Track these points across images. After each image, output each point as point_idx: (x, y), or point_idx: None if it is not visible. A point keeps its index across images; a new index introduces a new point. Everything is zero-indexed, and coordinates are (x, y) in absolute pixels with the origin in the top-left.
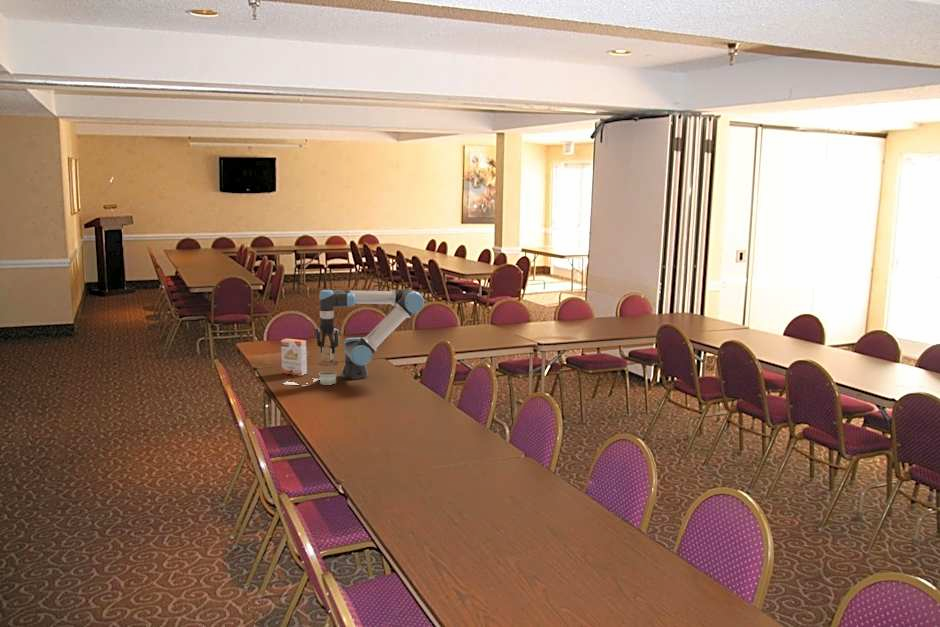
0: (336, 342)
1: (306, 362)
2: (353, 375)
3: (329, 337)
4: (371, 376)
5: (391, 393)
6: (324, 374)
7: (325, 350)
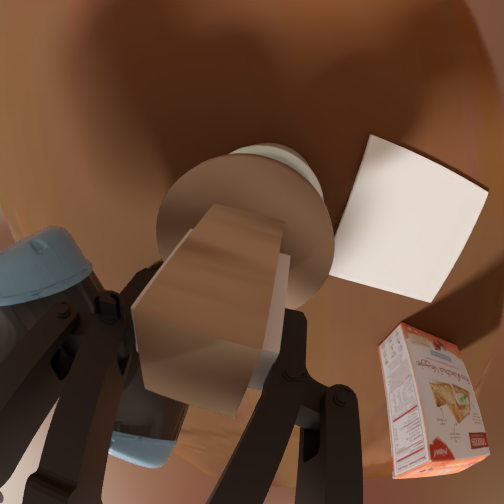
0: (19, 344)
1: (385, 385)
2: None
3: (73, 469)
4: None
5: (18, 85)
6: None
7: (222, 290)
